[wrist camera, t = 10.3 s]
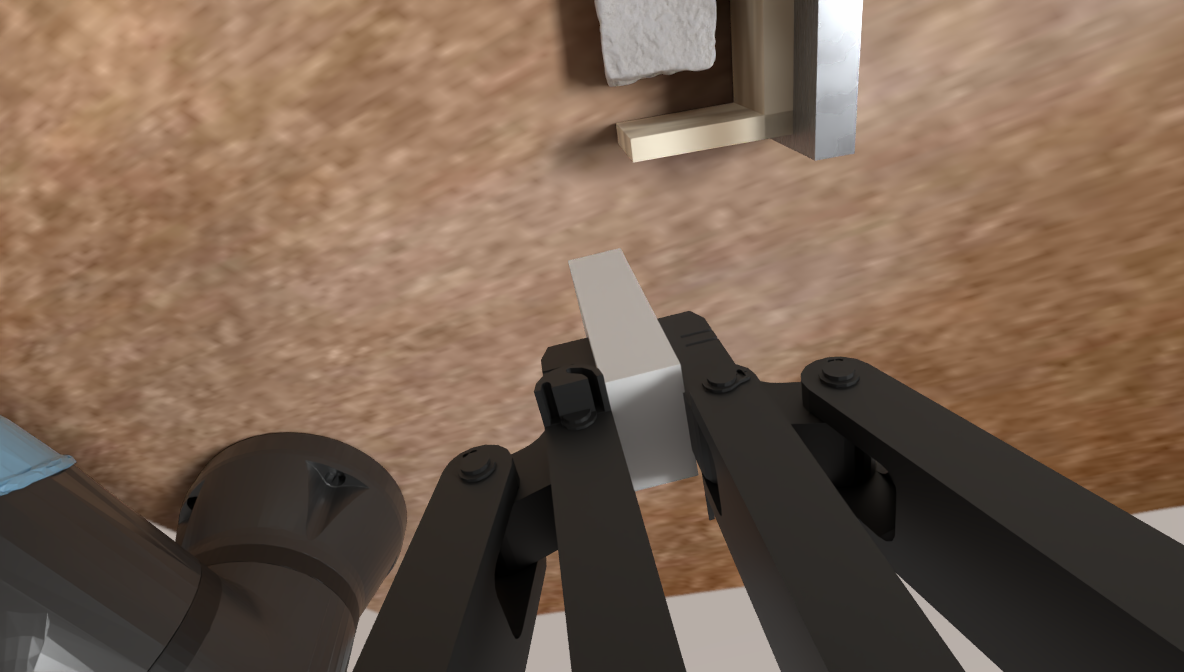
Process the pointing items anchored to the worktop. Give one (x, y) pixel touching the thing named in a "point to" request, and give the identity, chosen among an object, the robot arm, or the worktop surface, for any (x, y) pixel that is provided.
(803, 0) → the wall
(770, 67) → the cradle
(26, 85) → the worktop surface
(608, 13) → the grey stone block
